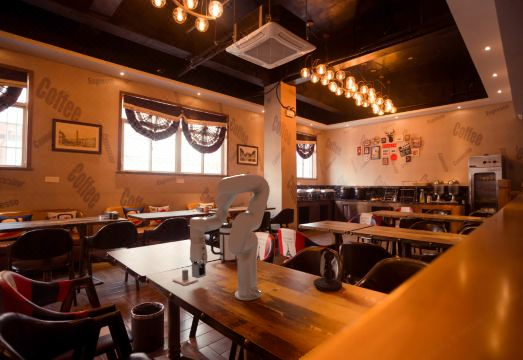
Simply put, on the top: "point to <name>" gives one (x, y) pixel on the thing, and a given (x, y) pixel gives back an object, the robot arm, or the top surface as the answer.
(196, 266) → the gray rectangular block
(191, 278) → the post stand
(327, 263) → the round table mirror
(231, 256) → the coffee press
